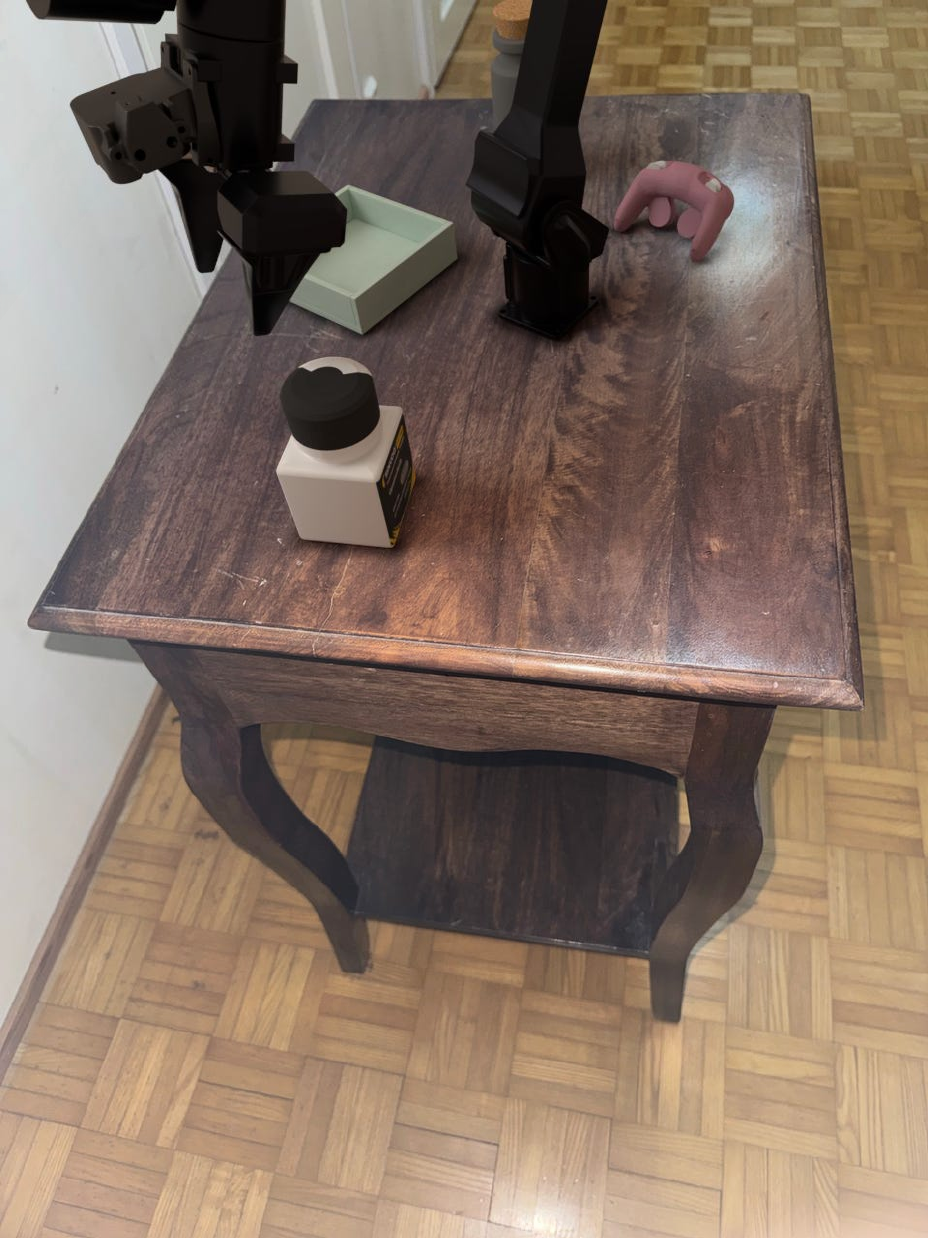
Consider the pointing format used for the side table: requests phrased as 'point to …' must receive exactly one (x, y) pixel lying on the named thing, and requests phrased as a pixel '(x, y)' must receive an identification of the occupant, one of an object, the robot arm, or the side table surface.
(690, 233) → the video game controller
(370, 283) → the tray
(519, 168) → the robot arm
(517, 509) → the side table surface
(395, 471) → the medicine bottle
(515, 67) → the bottle
